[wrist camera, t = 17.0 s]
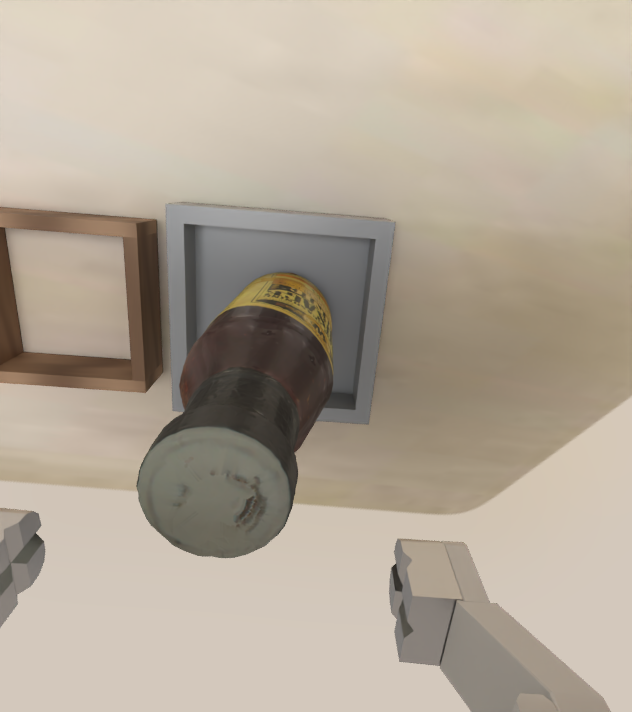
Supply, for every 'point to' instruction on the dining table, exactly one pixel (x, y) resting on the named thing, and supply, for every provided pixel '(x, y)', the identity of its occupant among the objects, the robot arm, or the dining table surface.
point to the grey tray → (286, 255)
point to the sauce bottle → (241, 421)
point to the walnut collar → (3, 339)
